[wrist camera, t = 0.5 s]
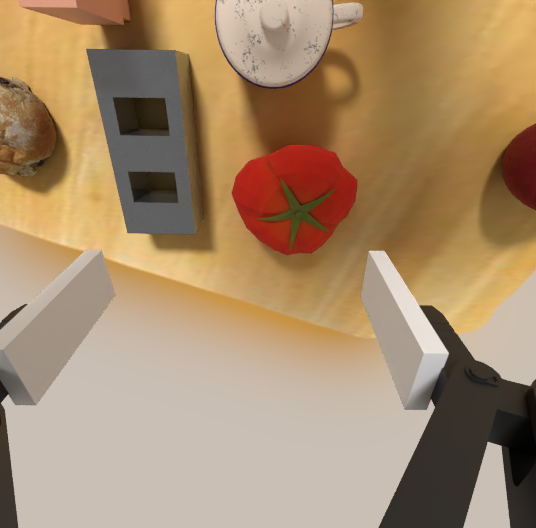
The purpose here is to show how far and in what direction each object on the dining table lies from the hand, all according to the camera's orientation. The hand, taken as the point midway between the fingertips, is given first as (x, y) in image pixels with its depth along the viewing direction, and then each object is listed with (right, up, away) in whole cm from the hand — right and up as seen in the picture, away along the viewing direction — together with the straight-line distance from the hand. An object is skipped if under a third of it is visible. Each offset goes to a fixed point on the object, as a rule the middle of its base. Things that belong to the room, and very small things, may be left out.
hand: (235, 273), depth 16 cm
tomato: (+5, +10, +24) cm, 26 cm away
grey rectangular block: (-11, +14, +21) cm, 28 cm away
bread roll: (-27, +16, +21) cm, 38 cm away
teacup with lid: (+4, +24, +16) cm, 29 cm away
